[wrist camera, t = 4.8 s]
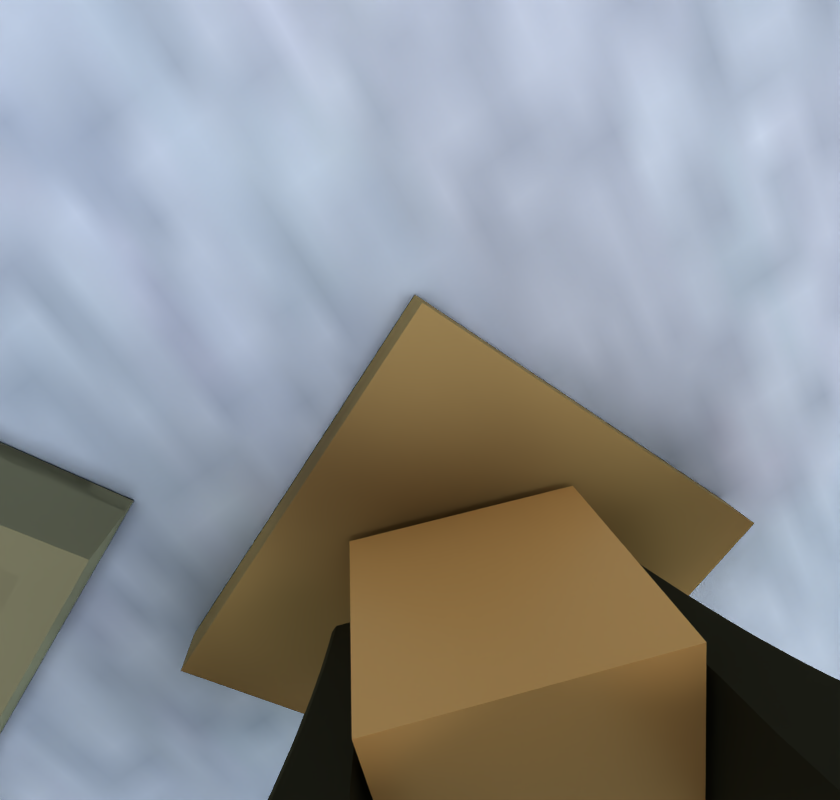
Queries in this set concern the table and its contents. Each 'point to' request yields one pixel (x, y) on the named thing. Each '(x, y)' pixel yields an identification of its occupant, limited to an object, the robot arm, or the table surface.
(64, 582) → the tray
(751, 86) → the table surface
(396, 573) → the orange cube
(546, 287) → the table surface
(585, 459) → the post base
